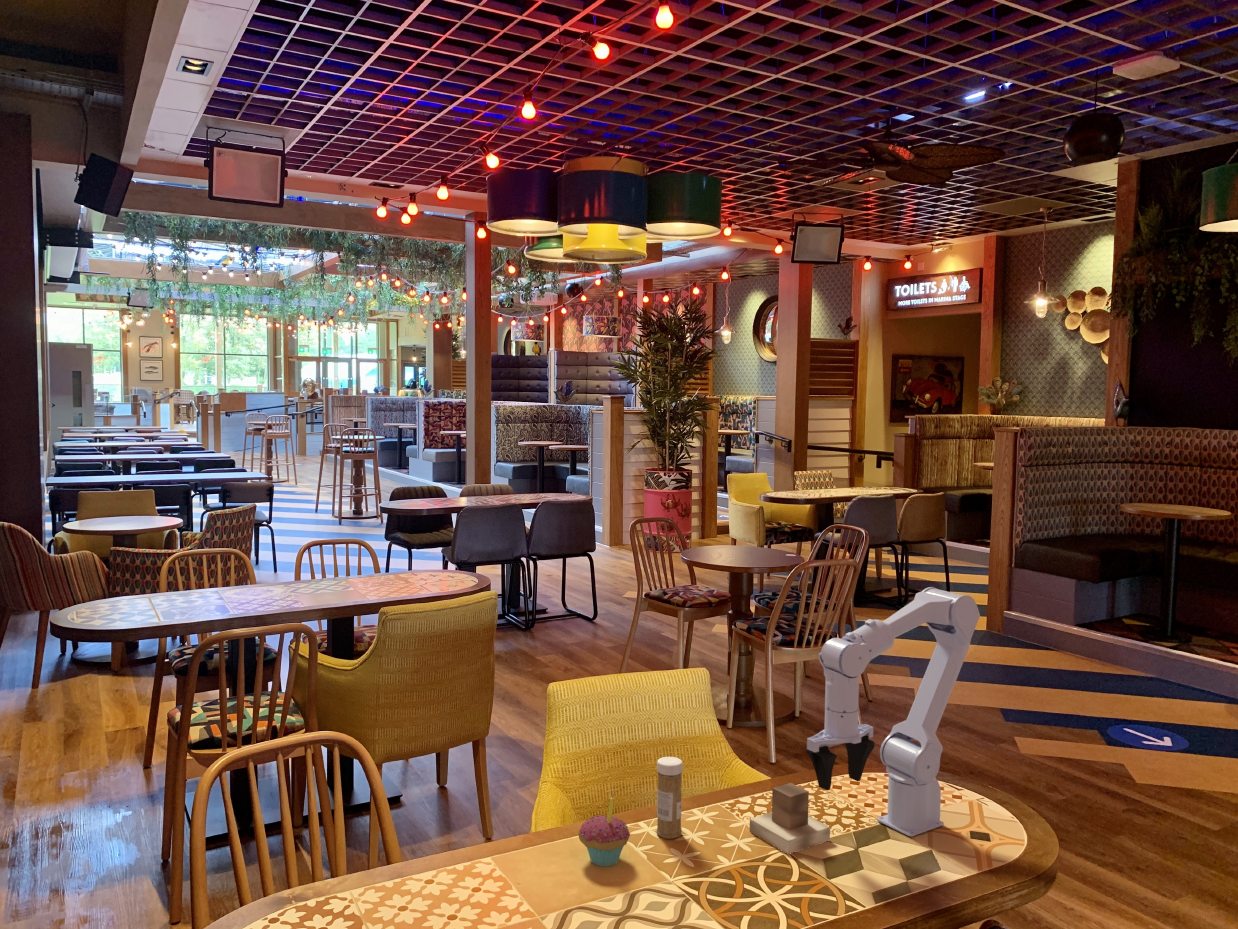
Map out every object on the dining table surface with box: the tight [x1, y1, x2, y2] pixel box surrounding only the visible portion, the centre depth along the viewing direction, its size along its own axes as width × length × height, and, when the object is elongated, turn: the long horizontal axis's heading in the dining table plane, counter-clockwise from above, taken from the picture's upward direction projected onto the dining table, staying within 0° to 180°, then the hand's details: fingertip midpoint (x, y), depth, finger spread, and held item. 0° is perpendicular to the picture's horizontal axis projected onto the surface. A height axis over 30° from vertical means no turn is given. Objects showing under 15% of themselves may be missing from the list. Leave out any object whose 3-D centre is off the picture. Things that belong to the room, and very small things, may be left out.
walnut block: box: [771, 782, 810, 830], centre depth 162 cm, size 4×4×6 cm
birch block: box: [749, 811, 831, 855], centre depth 162 cm, size 10×10×3 cm
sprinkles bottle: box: [656, 756, 684, 840], centre depth 162 cm, size 5×5×13 cm
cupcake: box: [578, 793, 631, 867], centre depth 152 cm, size 9×8×12 cm
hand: (839, 783), depth 160 cm, fingers open, 7 cm apart
